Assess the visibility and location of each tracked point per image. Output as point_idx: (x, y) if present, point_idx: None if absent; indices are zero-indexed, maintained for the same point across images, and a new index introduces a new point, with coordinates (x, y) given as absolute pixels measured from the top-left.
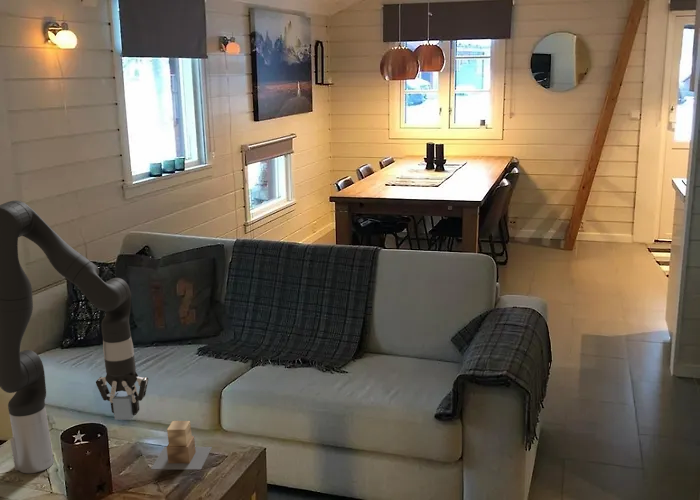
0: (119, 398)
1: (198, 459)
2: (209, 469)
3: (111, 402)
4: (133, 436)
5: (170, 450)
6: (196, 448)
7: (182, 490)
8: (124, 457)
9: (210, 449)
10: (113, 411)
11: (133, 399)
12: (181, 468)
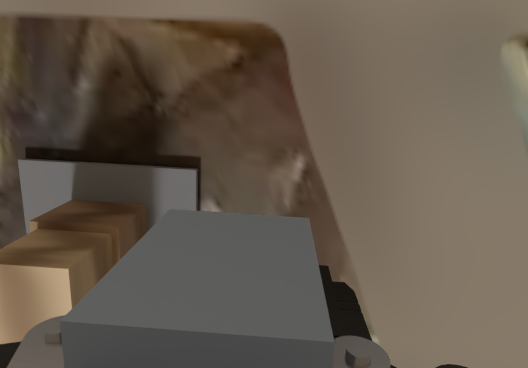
0: (218, 343)
1: None
2: (4, 173)
3: (359, 340)
4: None
5: (110, 220)
6: None
7: (46, 41)
8: (320, 262)
9: None
10: (336, 289)
11: (46, 343)
12: (88, 168)
